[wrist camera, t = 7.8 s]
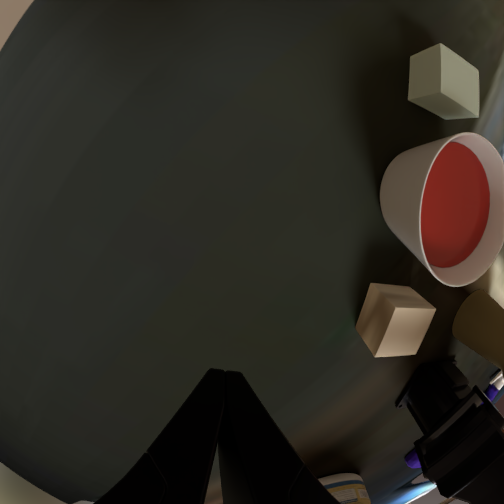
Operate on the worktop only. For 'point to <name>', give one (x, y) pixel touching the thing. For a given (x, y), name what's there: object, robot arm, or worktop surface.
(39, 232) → the worktop surface
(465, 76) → the sage block
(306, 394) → the worktop surface
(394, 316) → the birch block
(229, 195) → the worktop surface
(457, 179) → the candle
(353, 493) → the supplement tub
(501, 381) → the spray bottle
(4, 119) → the worktop surface
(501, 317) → the cork
